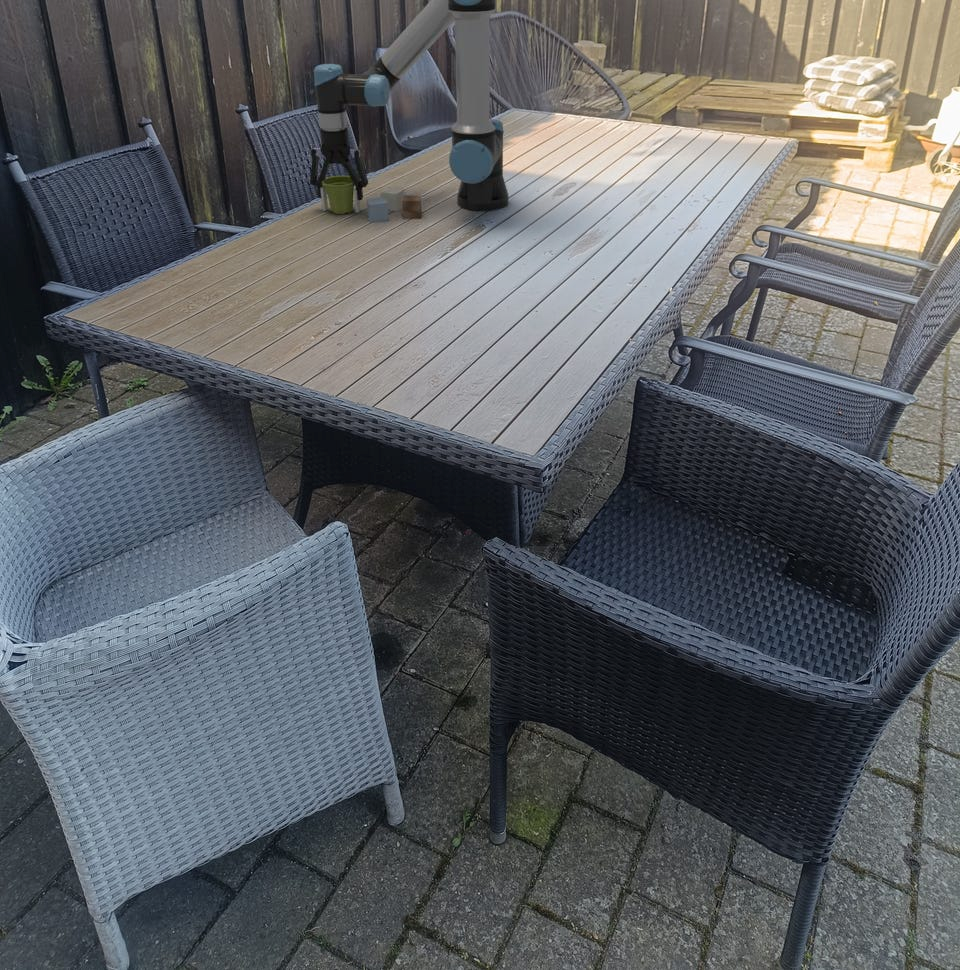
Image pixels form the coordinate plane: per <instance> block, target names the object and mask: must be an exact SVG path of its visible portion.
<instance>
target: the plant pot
mask: <svg viewBox="0 0 960 970" xmlns="http://www.w3.org/2000/svg"><path fill="white" fill-rule="evenodd" d="M322 183H323V185H324V186H325V189H326V192H327V200H328V204H329V206H330V210H331V212H333V214H336V215H344V214H346V213H347V214H351V212H353V210H354V189H355V185H354V183H353V181H352V179H351V178H350V176H349V175H334V176H329V177H325V179H324V180H323V181H322Z"/></svg>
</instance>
